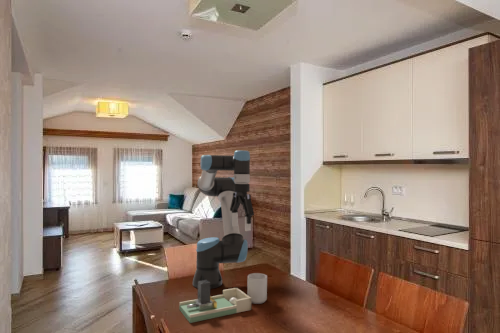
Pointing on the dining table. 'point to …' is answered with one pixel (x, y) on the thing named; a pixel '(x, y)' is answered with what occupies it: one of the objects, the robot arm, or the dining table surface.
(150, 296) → the dining table surface
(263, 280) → the mug
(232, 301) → the ball
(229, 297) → the pitch
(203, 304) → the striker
